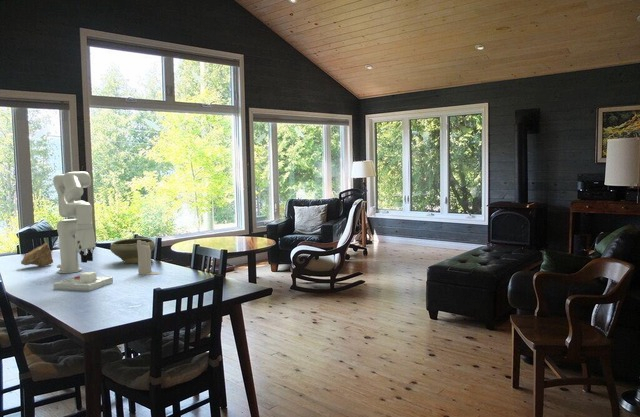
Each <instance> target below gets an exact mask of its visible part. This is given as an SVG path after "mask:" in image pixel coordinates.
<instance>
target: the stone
mask: <svg viewBox="0 0 640 417" xmlns="http://www.w3.org/2000/svg"><path fill="white" fill-rule="evenodd" d="M23 256H24V257H23V258H22V260H21V261H20V264H21V265H24V266H30V265H33V266H34V265H35V266H38V267H43V266H44V267H45V266H48V265H52V264H54V259H53V255H52V250H51V249H50V247H49V243H47V242H44V243H43V244H41V245H40V246H37V247H35V248H33V249H32V250H31V251H29V252H27V253H25V254H24V255H23Z"/></svg>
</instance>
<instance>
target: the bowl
mask: <svg viewBox="0 0 640 417" xmlns="http://www.w3.org/2000/svg"><path fill="white" fill-rule="evenodd" d="M137 240H141V241H146V243H149V245H150V250H151V252H153V250H154V249H155V248H156V243H155V241H154V240H153V239H151V238H148V237H147V238H146V237H137V238H136V237H135V238H123V239H117V240H114V241H113V242H110V247H109V248H110V252H111V253H112V254H114V255H115V256H116V257H117V258H119V259H121V260H122V261H123V262H124V263H127V264H136V263H137V264H138V251H137Z"/></svg>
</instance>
